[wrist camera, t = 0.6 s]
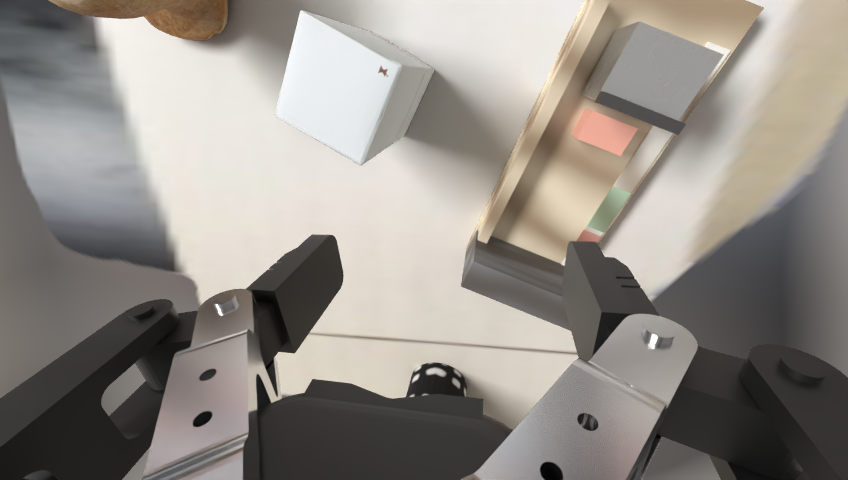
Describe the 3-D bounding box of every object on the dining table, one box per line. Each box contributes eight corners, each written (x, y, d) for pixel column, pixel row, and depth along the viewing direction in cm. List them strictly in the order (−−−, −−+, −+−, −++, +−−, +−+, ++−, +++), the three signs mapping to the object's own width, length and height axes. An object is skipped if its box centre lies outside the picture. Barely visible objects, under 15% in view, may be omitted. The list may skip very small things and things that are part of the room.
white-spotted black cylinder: (439, 410, 53) (412, 579, 35) (400, 379, 51) (351, 538, 33) (478, 387, 49) (470, 564, 31) (437, 353, 47) (404, 518, 30)
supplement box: (368, 28, 31) (299, 2, 20) (437, 69, 32) (406, 65, 21) (341, 103, 35) (269, 116, 24) (403, 139, 35) (362, 168, 24)
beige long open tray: (606, -46, 26) (651, -95, 19) (750, 11, 26) (854, -16, 18) (467, 246, 39) (460, 286, 32) (562, 284, 39) (578, 333, 32)
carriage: (615, 30, 27) (646, 18, 21) (685, 58, 27) (735, 53, 21) (578, 98, 29) (598, 103, 24) (643, 123, 29) (678, 135, 24)
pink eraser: (585, 108, 30) (592, 110, 27) (627, 124, 30) (638, 128, 27) (571, 134, 31) (576, 138, 29) (611, 150, 31) (620, 156, 29)
